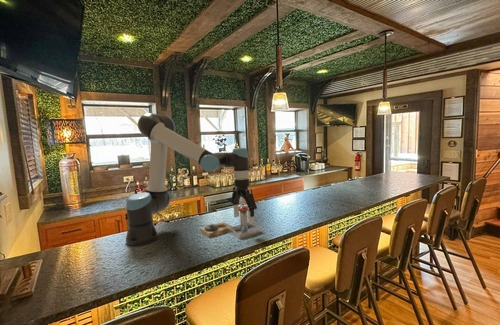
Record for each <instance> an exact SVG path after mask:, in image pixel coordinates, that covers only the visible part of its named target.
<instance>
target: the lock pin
mask: <svg viewBox="0 0 500 325" xmlns="http://www.w3.org/2000/svg"><path fill="white" fill-rule="evenodd" d="M238 210H239V217H240V218H239V219H240V220H239V221H240V225H241V229H240V233H243V232H247V231H249V227H248V222H249V221H248V210H249V208H248V206H247V205H242V206H240V205H239V207H238Z"/></svg>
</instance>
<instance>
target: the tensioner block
mask: <svg viewBox="0 0 500 325" xmlns="http://www.w3.org/2000/svg"><path fill="white" fill-rule="evenodd" d="M230 227H233V226H232V225H230V224H228V223H226V222H219V223H214V224H213V223H210V224H206V225H205V226H203V227H201V228H199V231H200V233H201V234H202V235H204V236H206V237H207V238H212V237H215V236H218V235H222V234H225V233H228V228H230Z"/></svg>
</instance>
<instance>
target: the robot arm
mask: <svg viewBox="0 0 500 325" xmlns="http://www.w3.org/2000/svg"><path fill="white" fill-rule="evenodd" d="M137 127H138V130H139V132H140V134H142V135H143V136H144V137H146V138H148V140H149V142H150V154H149V155H150V157H149V170H148V171H149V173H148V185H147V186H146V187H145V191H144V192H138V193H135V194H131V195H130V196H128V197H127V198H126V201H125V202H126V204H125V207H126V214H127V216H126V217H127V224H128V226H127V227H128V228H127V229H128V230H127V232H126V235H125V243H126V245H127V246H131V247H139V246H144V245H147V244H151V243H153V242H156V241H157V239H159V233H158V231H157V228H156V226H155V224H154V217H153V216H154V215H155V214H158V213H160V212H164V210H165V209H167V208H168V207H169V206H170V204H171V194H170V193H169V191H168V190H169V189H168V187H167V186H166V177H167V176H166V175H167V163H168V162H167V161H168V159H167V158H168V148H170V149H172V150H173V151H175V152H177V153H179V154H181V155H183V156H184V157H186V158H188V159H189V160H191V161H192V162H195V163H196V164H198V165H200V167H201V169H203V170H204V171H205V172H207V173H208V172H209V173H210V172H215V171H217V170H219V169H223V168H233V179H234V180H233V181H234V183H233V184H234V186H232V194H231V198H230V203H231V204H232V206H233V218H237V217H240V211H239V210H238V207H240V205H239V200H241V198H242V199H243V200H244V202H245V203H246V206H247V207H248V211H247V217H248V222H249V223H251V224H253V223H255V210H257V208H258V206H257V204H256V200H255V198H254V194H253V190H252V188H250V189H249V186H250V178H249V177H250V174H249V154H248V152H249V151H248V149H247V148H246V147H239V148H238V147H236V148H232V152H214V153H213V152H211V151H209V150H207V149H205V148H204V147H202V146H200V145H199V144H198V143H197V144H196V143H195V142H193V141H191V140H190V139H188V138H186V137H184V136H182V135H181V134H179V133H177V132H176V123H175V121H174V120H173V118H171V117H170V116H168V115H164V114H158V113H153V112H149V113H145V114H143V115H141V116H140V117H139V119H138V121H137Z"/></svg>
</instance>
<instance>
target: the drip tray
mask: <svg viewBox="0 0 500 325" xmlns="http://www.w3.org/2000/svg"><path fill="white" fill-rule="evenodd" d="M247 222H248V229H250V230H248V231H247V232H243V233H241V232H237V231H241V224H238V225H234V226H232V227H230V228H228V232H227V233H228V234H229V235H231V236H234V237H235V238H236V239H239V240H241V239H244V238H247V237H250V236H253V235H257V234H259V233H262V227H261V226H258V225H256V224H253V223H249V221H247Z"/></svg>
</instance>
